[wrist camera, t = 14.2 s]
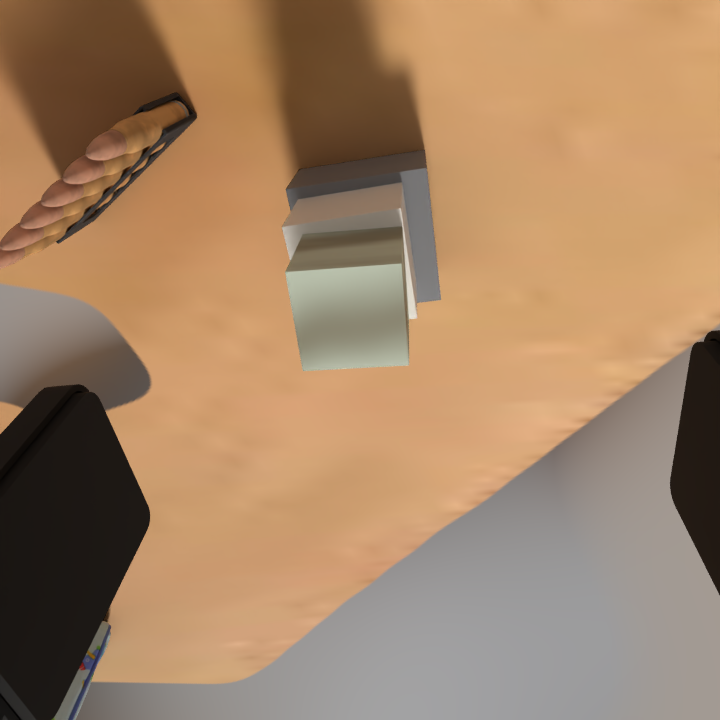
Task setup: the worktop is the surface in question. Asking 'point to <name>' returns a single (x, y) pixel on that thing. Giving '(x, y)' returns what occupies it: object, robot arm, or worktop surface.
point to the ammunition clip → (97, 177)
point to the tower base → (379, 173)
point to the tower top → (355, 221)
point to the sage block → (350, 299)
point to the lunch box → (84, 675)
